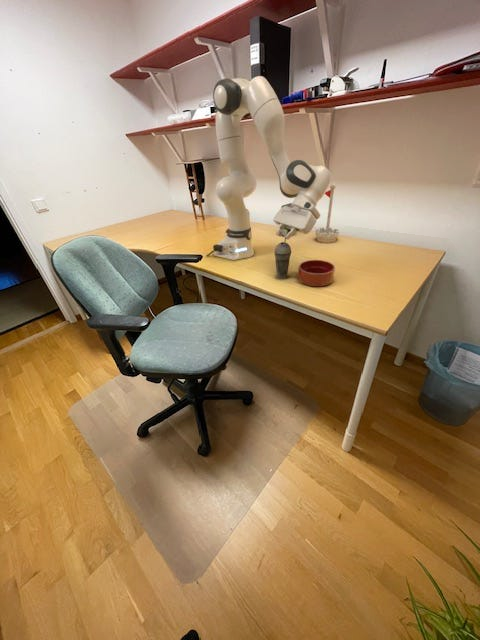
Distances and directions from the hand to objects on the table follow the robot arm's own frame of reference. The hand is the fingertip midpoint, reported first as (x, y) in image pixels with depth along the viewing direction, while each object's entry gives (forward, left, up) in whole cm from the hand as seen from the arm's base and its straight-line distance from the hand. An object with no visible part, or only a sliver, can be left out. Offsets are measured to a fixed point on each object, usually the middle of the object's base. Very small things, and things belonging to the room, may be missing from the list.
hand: (282, 236), depth 105 cm
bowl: (+15, +2, -18) cm, 24 cm away
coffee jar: (-15, +62, -18) cm, 66 cm away
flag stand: (+10, +57, -18) cm, 60 cm away
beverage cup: (0, +1, -18) cm, 18 cm away
